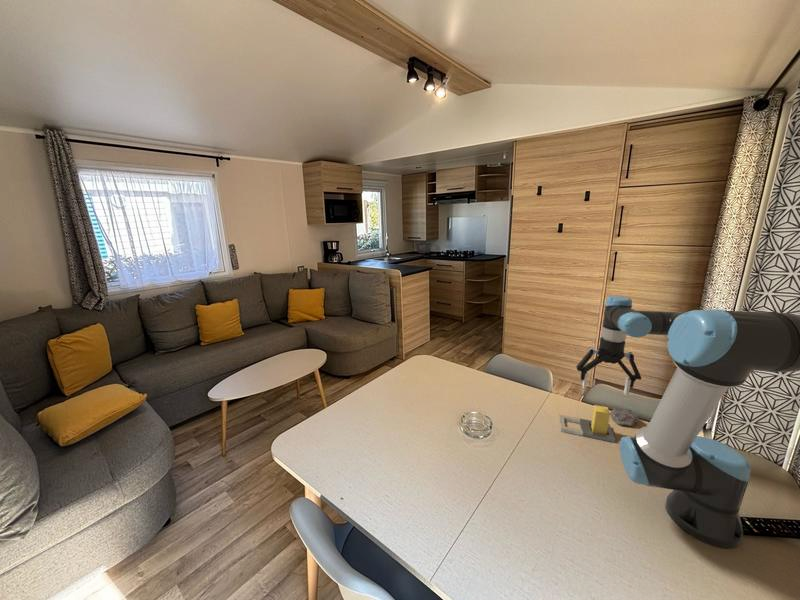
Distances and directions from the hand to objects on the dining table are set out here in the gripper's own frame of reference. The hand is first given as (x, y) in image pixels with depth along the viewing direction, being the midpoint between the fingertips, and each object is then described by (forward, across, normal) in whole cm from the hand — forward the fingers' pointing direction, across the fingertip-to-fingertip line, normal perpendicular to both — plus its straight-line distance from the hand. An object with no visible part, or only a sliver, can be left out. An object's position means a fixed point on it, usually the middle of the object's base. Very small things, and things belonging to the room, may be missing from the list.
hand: (604, 391), depth 118 cm
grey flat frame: (+18, +4, 0) cm, 18 cm away
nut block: (+18, 0, 0) cm, 18 cm away
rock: (+18, -11, -12) cm, 25 cm away
